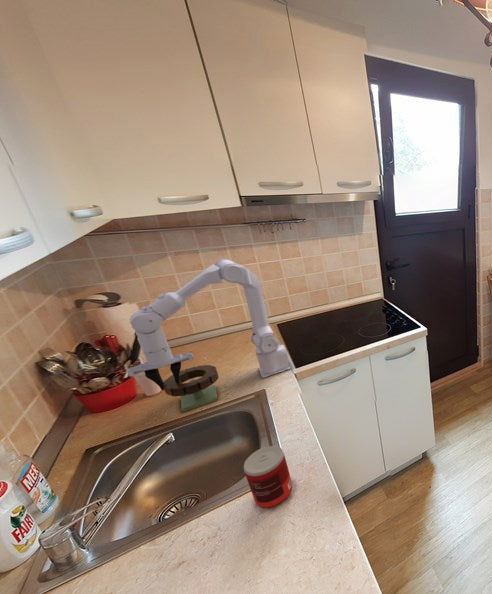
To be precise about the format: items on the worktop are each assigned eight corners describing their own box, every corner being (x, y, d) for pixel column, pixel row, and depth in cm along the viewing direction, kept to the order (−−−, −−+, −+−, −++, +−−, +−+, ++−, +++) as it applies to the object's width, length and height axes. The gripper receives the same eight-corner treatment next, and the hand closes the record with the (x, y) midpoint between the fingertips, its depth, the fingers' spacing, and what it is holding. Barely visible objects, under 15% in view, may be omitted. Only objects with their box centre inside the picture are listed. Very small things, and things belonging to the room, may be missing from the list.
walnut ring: (216, 367, 116) (214, 360, 115) (220, 384, 107) (217, 377, 106) (167, 382, 108) (164, 375, 107) (165, 402, 99) (162, 394, 98)
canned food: (281, 474, 82) (271, 440, 78) (300, 489, 78) (290, 454, 74) (248, 499, 76) (235, 463, 72) (267, 516, 72) (255, 479, 68)
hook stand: (215, 387, 116) (209, 370, 113) (217, 400, 109) (211, 382, 107) (182, 398, 110) (175, 380, 108) (182, 412, 104) (174, 393, 101)
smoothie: (150, 399, 110) (134, 363, 105) (135, 397, 111) (119, 361, 106) (171, 388, 115) (156, 353, 110) (156, 385, 117) (141, 351, 112)
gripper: (187, 336, 106) (200, 372, 111) (123, 351, 97) (140, 389, 102) (187, 344, 101) (200, 381, 106) (120, 361, 92) (138, 400, 97)
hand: (171, 386), depth 104 cm, fingers closed on walnut ring, 3 cm apart
